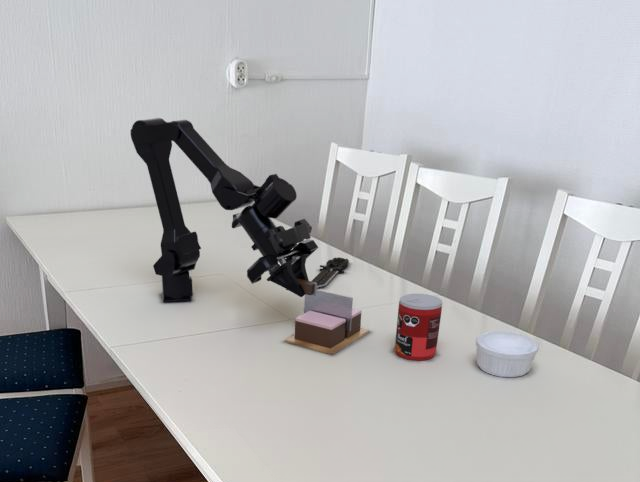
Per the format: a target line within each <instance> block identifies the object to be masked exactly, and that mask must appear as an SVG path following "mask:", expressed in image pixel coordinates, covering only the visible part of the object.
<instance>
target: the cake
mask: <svg viewBox="0 0 640 482" xmlns="http://www.w3.org/2000/svg"><path fill="white" fill-rule="evenodd" d="M362 311H363V310H362V309H359V308H353V307H352V319H351V331H347V330H345V325H346V319H343V318H338V317H334V316H330V315H326V314H322V313H318V312H314V311H308V312H306V313H304V312H303V314H300V315H298V316H296V317H295V320H294V335H295V339H297V340H301V341H304V342H308V343H312V344H315V345H319V346H323V347H327V348H330V349H331V348H332V347H334V346H336V345H337V344H339V343H341V342H342V341H344V340H345V338H349V337H350V336H352V335H354V334H355V333H357V332H359V331H360V328H361V326H362V325H361V324H362Z"/></svg>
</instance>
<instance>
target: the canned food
mask: <svg viewBox="0 0 640 482" xmlns="http://www.w3.org/2000/svg"><path fill="white" fill-rule="evenodd" d="M442 311H443V300H442V299H441V298H440V297H438V296H435V295H433V294H429V293H407V294H404V295H401V296H400V297H399V302H398V309H397V320H396V328H395V329H396V331H395V338H394V339H395V341H394V351H395V354H396V355H397V356H399V358H402V359H405V360H408V361H427V360H430V359H433V358H434V357H435V355H436V353H437V348H438V342H439V341H438V339H439V332H440V326H441V319H442Z"/></svg>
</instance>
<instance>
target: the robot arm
mask: <svg viewBox="0 0 640 482" xmlns="http://www.w3.org/2000/svg"><path fill="white" fill-rule="evenodd" d="M129 132H130V139H131V141H132V144H133V146H134V147H133V148H134V150H135V152H136V154H137V155H138V157H140V159H141V160H142V161H143V162H144V164H146V167H147V171H148V174H149V180H150V183H151V186H152V190H153V194H154V199H155V202H156V206H157V210H158V214H159V218H160V221H161V226H162V232H163V233H162V235H161V239H160V240H161V241H160V252H161V255H160V257H159V258H158V260H156V261H155V263H154V264H153V266H152V267H153V270H154V273H155V275H156V276H161V287H162V291H161V296H162V302H163V303H177V302H191V301H192V297H193V295H194V294H193V293H194V291H193V277H192V276H191V275H190V271H193V270H195V269H196V265H197V262H198V261H199V258H201V252H200V250H202V247H201V245H200V242H199V238H198V233H197V232H196V231H192V232H191V230H189V228H188V227H187V226H186V223H185V220H184V216H183V212H182V208H181V203H180V199H179V195H178V191H177V187H176V182H175V179H174V175H173V171H172V167H171V162H170V156H171V152H172V148H173V142H174V144H175V145H177V147H178V148H179V149H180V150H181V151H182V153H184V155H185V156H186V157H187V158H188V159H189V160H190V161H191V163H192V164H193V165H194V166H195V167H196V169H198V170H199V172H200V173H201V174H202V175H203V176H204V177H205V178H206V180H207V182H208V183H209V185H210V188H211V189H210V190H211V194H212V195H213V196H214V198H215V199H216V201H217V203H218V204H219V206H221V208H222V209H224V210H225V211H234V210H239V209H241V208H243V209H242V210H241V211H240V212H238V213H234V214H232V221H231V229H236V228H240V227H242V228H243V230H244V231H245V233H246V235H247V236H248V237H249V239H250V240H251V241H252V243H253V244H252V245H251V249H252V251H253V252H254V251H259V253H260V254H261V256H259V258H258V259H257V260H256V261H254V263H252V265H250V267H249V268H248V269H246V277H247V279H248V280H249V282H250V283H251V284H252V285H253V284H255V283H258V282H260V281H262V276H263V275H264V274H265V273H267V272H268V274H269V277H267V278H266V281H267V282H271V283H274V284H276V285H278V286H280V287H281V288H284V289H285V290H286V289H287V290H286V291H289V292H291V293H293V294H294V295H296V296H298V297H300V298H303V297H305V293H304V291H303V289H302V287H301V285H300V284H299V282H298V280H297V279H296V278H298V279H302V280H307V281H310V279H309V276H308V273H307V268H306V262H307V259H308V258H309V257H310V256H311V255H312V254H313V253H315V252H316V251H317V250H318V249H319V245H317V243H316V242H315V240H314V239H312V237H311V232H312V231H313V226H312V225H310V223H309V222H308V221H307V220H306V219H305V218H302V219H299V220H296V221H294V223H293V224H294V225H293V227H291V228H288V229H286V228H285V227H284V226H282V225H279V226H277V225H276V224H275V222H274V220H273V219H278V218H279V217H280V216H281V215H282V214H283V213H284V212H285V211H286V210H287V209H288V208H289V207H290V206H291V205H292V204H293V203H294V202H295V201H296V200H297V191H296V189H295V188H294V186H293V185H292V184H291V183H289V182H288V181H287V180H285V179H283V178H281V177H279V176H278V174H277V173H273V174H272V173H271V174H269V175H268V177H266V179H265V181H264V183H263V184H261V185H257V184H255V183H253V182H252V180H251V179H249V177H247V175H245V174H243V173H242V172H241V171H238V170H237V169H234V168H232V167H231V166H230V165H228V164H227V163H226V162H225V161H224V160H223V159H222V158H221V157H220V156H219V155H218V154H217V152H216V151H214V149H213V148H212V147H211V146H210V144H209V143H208V142H207V141H206V140H205V139H204V138H203V137H202V136H201V135H200V133H199V132H198V131H197V130H196V129H195V128H194V125H193V124H192V122H191V121H190V120H187V119H177V120H171V121H165V119H163V118H161V117H155V118H146V119H137V120H136V121H134V122H133V124H132V126H131V129H130V131H129Z"/></svg>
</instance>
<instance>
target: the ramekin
mask: <svg viewBox="0 0 640 482" xmlns="http://www.w3.org/2000/svg"><path fill="white" fill-rule="evenodd" d="M475 346H476V364H477V365H478V367H479V368H480V370H482V371H483V372H484V373H487V374H489V375H492V376H495V377H496V376H497V377H501V378H517V377H521V376H524V375H526V374H527V373H528V372H529V371H530V370H531V368H532V366H533V363H534V360H535V357H536V355H537V353H538V352H539V343H538V342H537V341H536V340H535V339H534V338H532V337H531V336H528V335H526V334H522V333H519V332H515V331H507V330H490V331H486V332H483V333H480V334H479V335H478V336H477V337H476V339H475Z"/></svg>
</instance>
